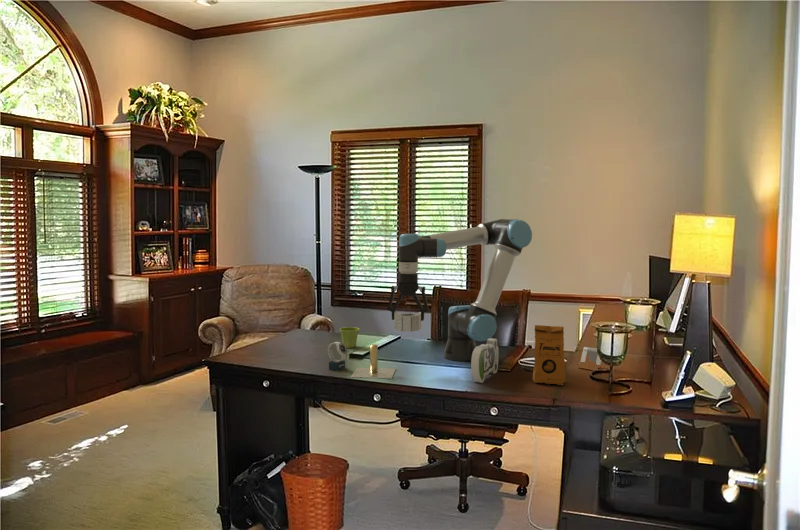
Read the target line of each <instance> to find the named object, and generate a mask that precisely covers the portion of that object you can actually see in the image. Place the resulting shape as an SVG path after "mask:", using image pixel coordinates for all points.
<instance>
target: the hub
mask: <svg viewBox="0 0 800 530" xmlns="http://www.w3.org/2000/svg"><path fill="white" fill-rule="evenodd" d="M419 330H420V329H419V313H416V312H402V313H397V315H396V331H397V332H403V333H404V332H407V333H408V332H418V331H419Z"/></svg>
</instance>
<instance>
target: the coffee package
mask: <svg viewBox="0 0 800 530" xmlns="http://www.w3.org/2000/svg"><path fill="white" fill-rule="evenodd" d="M564 332H565V331H564V326H559V325H556V326H555V325H554V326H553V325H537V324H535V325H534V344H535V345H534V352H533V353H534V355H533V357H534V366H533V371H532V372H533V373H532V380H533V382H534V383H538V384H542V383H545V384H544V385H550V384H557V385H556V386H561V384H563V383H564V382H565V383H566V378H567V364H566V360H565V357H564V356H565V351H564V350H565V341H564V340H565V338H564V335H565V333H564ZM565 383H564V384H565ZM564 384H563V385H564Z"/></svg>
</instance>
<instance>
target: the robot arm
mask: <svg viewBox="0 0 800 530" xmlns="http://www.w3.org/2000/svg"><path fill="white" fill-rule="evenodd" d="M532 238H533V231H532V228H531V226H530V224H528V223H527V222H526V221H525V220H522V219H518V218H515V219H513V218H512V219H511V218H510V219H505V218H501V219H496V220H492V221H488V222H484V223H478V225H477V226H474V227H469V228H463V229H457V230H452V231H446V232H440V233H434V234H429V235H423V236H419V235H418V234H417V233H402V234H400V235H399V239H398V258H399V260H398V272H399V273H398V284H397V285H391V287H390V291H391V293H390V295H389V296H390V297H389V300H388V305H387V309H386V310H387V311H390V312H391V320H392V321H394V325H393V327H394V329H396V315H397V314H398V311H396V310H397V307H398V306H399V304H400V302H401V301H402V298H403V296H404V297H407V296H408V297H412V298H413V299H414V302H415V303H416V306H417V307H418V309H419V312H418V314H419V330H421V329H422V322H423V321H424V320H425V313H427V312H429V310H430V309H429V305H428V304H429V303H428V300H427V296H426V286H425V285H424V286H420V285H419V283H418V282H419V281H418V278H419V277H418V276H419V274H418V273H417V272H418V271H419V269H418V268H419V258H442V257H445V255H446V253H447V250H454V249H458V248H459V249H460V248H464V247H469V246H470V247H471V246H476V245H481V246H489V245H494V247H495V252H494V254H493V256H492V257H493V258H492V260H491V263H490V264H489V267H488V270H487V273H486V275H485V277H484V280H483V282H482V285H481V287H480V290H479V293H478V294H477V295H478V296H477V297H476V300H475V302H471V304H470V305H468V304H467V305H453V306H450V307H449V308H448V313H447V342H446V344H445V348H444V350H443V358H445V359H447V360H451V361H459V362H465V361H466V362H467V361H470V362H471V359H472V353H473V350H474V349H475V347H477V345H476V342H485V341H486V342H487V339H489V338H493V337H494V335H495V333H496V331H497V328H498V324H497V320H496V317H497V315H498V314H497V310H496V307H497V304H498V302H499V299H500V297H501V295H502V292H503V291H504V290H503V289H504V286H505V284H506V282H507V279H508V276H509V274H510V272H511V269H512V266H513V263H514V261H515V259H516V257H518V256H520V255H521V253H522V251H523V249H524V248H526V247H527V246H529V245H530V244H531V242H532ZM397 289H398V290H399V292H400V293H399V296H398V297H397V298H396V299H397V300H396V301H395V303H394V305H393V302H394V297H395V293H396V292H397ZM418 290H419V293H421V298H422V302H423V305H422V303H421V301H420V299H419V297H418V294H417V293H416V292H418ZM423 306H424V307H423Z"/></svg>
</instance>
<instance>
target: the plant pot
mask: <svg viewBox="0 0 800 530" xmlns="http://www.w3.org/2000/svg"><path fill="white" fill-rule="evenodd" d="M339 331H340V336H341V340H342V342H341V343H343V344H344V345H345V346H346V349H353V348H356V347H357V341H358V334H359V331H360V328H359V327H356V326H355V327H354V326H353V327H352V326H347V327H345V326H344V327H340V328H339Z"/></svg>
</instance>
